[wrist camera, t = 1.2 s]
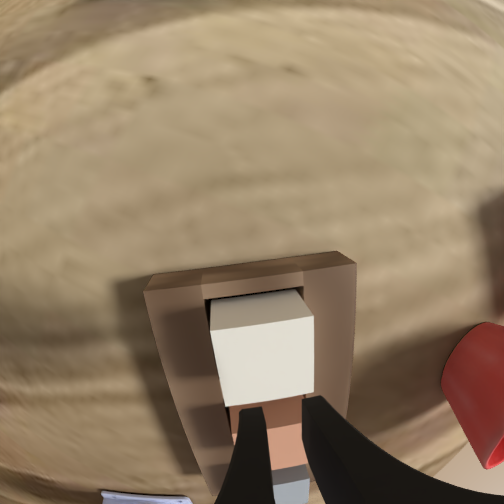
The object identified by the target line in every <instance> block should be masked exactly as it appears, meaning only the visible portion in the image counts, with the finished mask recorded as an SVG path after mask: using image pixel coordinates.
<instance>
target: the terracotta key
mask: <svg viewBox="0 0 504 504" xmlns="http://www.w3.org/2000/svg"><path fill="white" fill-rule="evenodd" d="M302 399H304V397H303V394H302V395H297V396H292V397H287V398H281V399H276V400H270V401H263V402H257V403H250V404H242V405H234V406H229V408H230V419H231V431H232V437H233V441H234V445H235V442H236V437H237V431H238V423H239V411H240V410H242V409H246V408H253V407H260V406H262V409H263V413H264V417H265V421H266V426H267V435H268V443H269V452H270V461H271V469H272V470H277V469H282V468H288V467H293V466H298V465H302V464H307V463H308V460H307V457H306V453H305V449H304V446H303V442H302Z"/></svg>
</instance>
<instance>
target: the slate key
mask: <svg viewBox="0 0 504 504" xmlns="http://www.w3.org/2000/svg"><path fill="white" fill-rule="evenodd" d="M272 479H273V490H274V499H275V503H276V504H304V503H308V496H309V483H310V477H309V474H308V471H307V468H306V465H305V464H302V465H298V466H293V467H288V468H282V469H277V470H272Z"/></svg>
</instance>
